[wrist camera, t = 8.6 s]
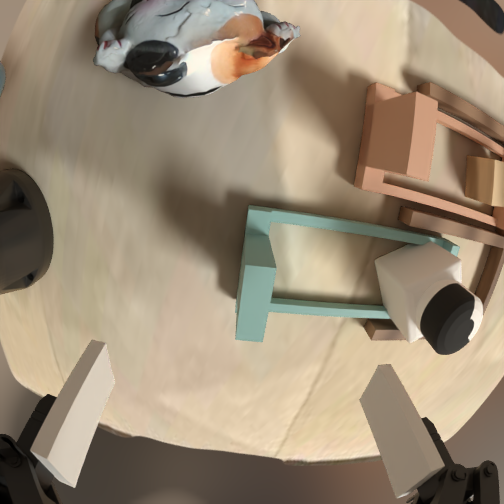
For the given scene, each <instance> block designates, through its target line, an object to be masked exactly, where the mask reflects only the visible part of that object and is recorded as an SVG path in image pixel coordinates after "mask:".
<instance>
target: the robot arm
mask: <svg viewBox="0 0 504 504" xmlns="http://www.w3.org/2000/svg"><path fill="white" fill-rule="evenodd" d="M5 80H6V73H5V69H4V66H3V64H2V63H1V61H0V96H1V93H2V91H3V88H4V85H5ZM52 254H53V228H52V222H51V217H50V213H49V210H48V207H47V204H46V202H45V199H44V197H43V195H42V193H41V191H40V189H39V188H38V186H37V185H36V183H35V182H34V181H33V180H32V179H31V178H30V177H29V176H28V175H27V174H25V173H24V172H22V171H20V170H17V169H7V170H3V171H0V295H1V294H5V293H9V292H13V291H17V290H21V289H25V288H28V287H30V286H31V285H33V284H34V283H35V282H36V281H38V280H39V279H40V278H41V277H43V275H44V274H45V273H46V271H47V270H48V268H49V265H50V263H51V259H52ZM114 384H115V380H114V376H113V372H112V368H111V364H110V360H109V355H108V351H107V346H106V343H104V342H99V341H95V340H91V342H90V343H89V345H88V347H87V348H86V350H85V351H84V353H83V354H82V356H81V358H80V359H79V361H78V363H77V364H76V366H75V368H74V369H73V371H72V372H71V374H70V376H69V378H68V379H67V381H66V383H65V384H64V386H63V388H62V390H61V391H60V393H59V395H58V397H55V396H52V395H50V394H47V395H46V396H45V397H43V398H42V399H41V400H40V401H39V403H38V404H37V406H36V408H35V411H33V413H32V415H31V418H29V420H28V422H27V424H26V426H25V428H24V429H23V431H22V433H21V435H20V437H19V439H18V441H17V442H15V441H14V440H13V439H12V438H11V437H10V436H8V435H6V434H0V504H63V503H62V501H61V499H60V497H59V495H58V493H57V490H56V488H55V485H54V483H53V482H52V479H53V476H55V477H56V478H57V479H58V480H59V481H60V482H63V483H65V484H67V485H70V486H72V487H74V488H75V486H76V483H77V479H78V477H79V474H80V471H81V468H82V465H83V462H84V459H85V457H86V454H87V451H88V448H89V446H90V443H91V440H92V437H93V435H94V432H95V430H96V427H97V425H98V422H99V420H100V417H101V415H102V412H103V410H104V407H105V405H106V403H107V400H108V398H109V395H110V393H111V391H112V388H113V386H114ZM360 403H361V405H362V408H363V410H364V413H365V415H366V418H367V420H368V423H369V425H370V428H371V431H372V433H373V436H374V438H375V441H376V444H377V446H378V449H379V452H380V454H381V457H382V460H383V462H384V465H385V468H386V471H387V474H388V476H389V479H390V482H391V485H392V488H393V491H394V494H395V496H396V498H399V497H402V496H405V495H408V494H410V493H412V492H413V491H414V490H415V489H417V490H418V493H416V494H415V495H413V496H412V497H411V498H409V499H408V500H407V503H409V502H410V501H412V500H413V499H414V500H413V502H412V503H411V504H500V500H499V480H498V470H497V467H496V465H495V463H493V462H492V461H484V462H483V463H482V464H481V465H480V466H479V467H474V468H465V467H464V466H462V465H460V464H455V463H454V462H453V461H452V459H451V457H450V455H449V453H448V451H447V449H446V447H445V445H444V443H443V441H442V440H441V437H440V435H439V434H438V433H437V430H436V428H435V426H434V424H433V423H432V422H431V421H430V420H429V419H428V418H427V417H425V418H421V417H420V415H419V414H418V412H417V410H416V408H415V406H414V404H413V403H412V401H411V399H410V397H409V395H408V394H407V392H406V390H405V388H404V386H403V385H402V383H401V381H400V379H399V378H398V376H397V374H396V373H395V371H394V369H393V367H392V366H391V364H385V365H378V367H377V369H376V371H375V373H374V375H373V377H372V378H371V380H370V382H369V384H368V386H367V388H366V389H365V391H364V393H363V395H362V396H361V398H360ZM473 495H474V498H473V501H471V500H470V497H472V496H473Z"/></svg>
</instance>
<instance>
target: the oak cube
mask: <svg viewBox="0 0 504 504" xmlns="http://www.w3.org/2000/svg"><path fill="white" fill-rule="evenodd" d="M465 197H468V198H471V199H474V200H477V201H480V202H483V203H485V204H488V205H491V206H499V207H504V162H502V161H498V160H494V159H488V158H482V157H476V156H469V155H467V171H466V188H465Z"/></svg>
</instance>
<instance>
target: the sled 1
mask: <svg viewBox="0 0 504 504" xmlns="http://www.w3.org/2000/svg"><path fill="white" fill-rule="evenodd" d="M271 222H278V223H285V224H293V225H300V226H307V227H314V228H321V229H328V230H335V231H341V232H348V233H354V234H361V235H367V236H373V237H379V238H385V239H391V240H397V241H403V242H408V243H414V244H420V245H424V244H426V243H428V242H430V241H432V242H434V243H435V244H437V245H439V246H440V247H442V248H444V249H445V250H447V251H448V252H450V253H451V254H453V255H455V256H456V257H457V255H458V252H459V248H460V247H459V246H457V245H456V244H454V243H452V242H451V241H449V240H447V239H445V238H441V237H437V236H432V235H427V234H422V233H418V232H413V231H408V230H403V229H398V228H392V227H387V226H382V225H376V224H371V223H365V222H359V221H354V220H348V219H342V218H336V217H330V216H323V215H317V214H310V213H304V212H297V211H290V210H283V209H276V208H268V207H261V206H253V205H248V213H247V220H246V228H245V235H244V243H243V251H242V258H241V266H240V274H239V282H238V290H237V298H236V310H235V313H237V317H236V338H235V340H244V341H255V342H263V337H264V332H265V327H266V322H267V317H268V312H278V313H290V314H303V315H318V316H334V317H354V318H381V319H391V318H390V317H389V315H388V311H387V310H386V308H385V307H384V306H376V305H358V304H343V303H329V302H316V301H304V300H292V299H281V298H271V296H272V291H273V285H274V280H275V274H276V269H277V268H276V264H275V260H274V256H273V252H272V248H271V244H270V240H269V229H270V223H271Z"/></svg>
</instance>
